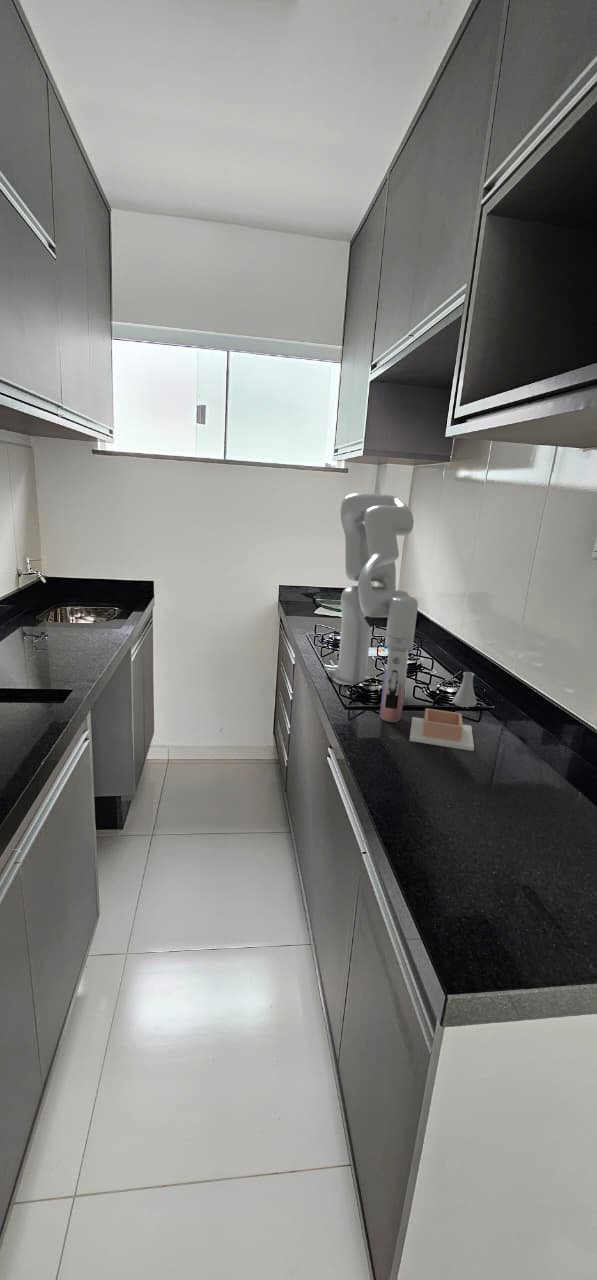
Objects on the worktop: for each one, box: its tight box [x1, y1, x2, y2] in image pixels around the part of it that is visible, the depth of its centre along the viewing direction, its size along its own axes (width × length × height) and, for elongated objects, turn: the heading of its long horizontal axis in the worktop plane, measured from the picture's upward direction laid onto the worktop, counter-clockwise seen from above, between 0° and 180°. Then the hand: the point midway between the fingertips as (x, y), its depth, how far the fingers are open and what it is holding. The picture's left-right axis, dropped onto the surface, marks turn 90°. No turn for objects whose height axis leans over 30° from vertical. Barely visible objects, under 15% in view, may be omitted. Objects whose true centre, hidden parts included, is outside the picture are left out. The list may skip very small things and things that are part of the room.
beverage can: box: [379, 665, 407, 723], centre depth 161 cm, size 6×6×15 cm
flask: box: [451, 671, 478, 709], centre depth 176 cm, size 7×7×10 cm
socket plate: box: [409, 707, 475, 751], centre depth 154 cm, size 16×14×5 cm
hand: (391, 703), depth 162 cm, fingers closed on beverage can, 6 cm apart
